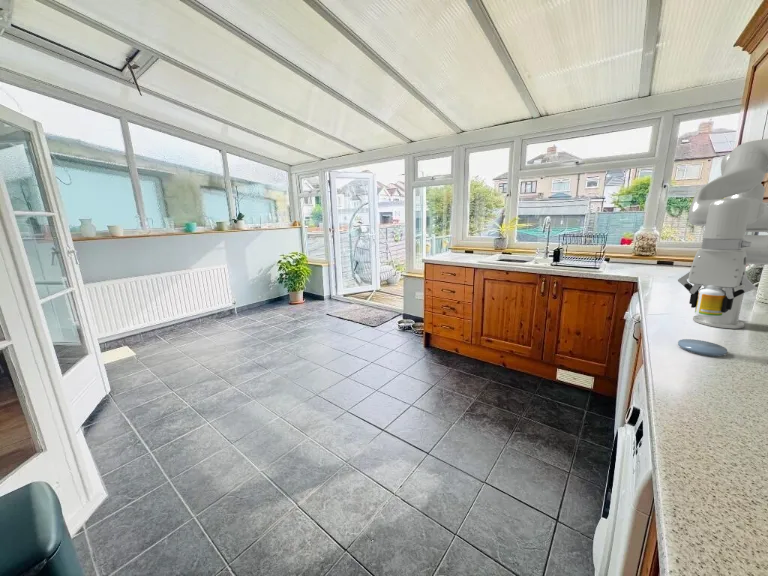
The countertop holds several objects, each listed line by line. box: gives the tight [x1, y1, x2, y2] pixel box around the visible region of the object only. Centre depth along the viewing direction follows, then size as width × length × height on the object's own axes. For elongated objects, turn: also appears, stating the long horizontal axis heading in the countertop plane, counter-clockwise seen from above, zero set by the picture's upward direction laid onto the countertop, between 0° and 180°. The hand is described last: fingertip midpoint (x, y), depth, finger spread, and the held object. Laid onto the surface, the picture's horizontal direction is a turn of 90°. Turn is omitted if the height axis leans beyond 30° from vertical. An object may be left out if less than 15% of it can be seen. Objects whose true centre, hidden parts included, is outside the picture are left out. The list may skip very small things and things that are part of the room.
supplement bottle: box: [694, 285, 726, 318], centre depth 87 cm, size 5×5×10 cm
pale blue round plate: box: [677, 338, 728, 357], centre depth 90 cm, size 10×10×2 cm
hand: (709, 308), depth 87 cm, fingers closed on supplement bottle, 5 cm apart
